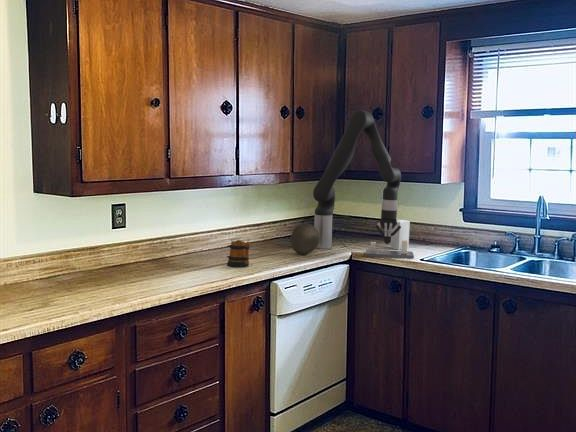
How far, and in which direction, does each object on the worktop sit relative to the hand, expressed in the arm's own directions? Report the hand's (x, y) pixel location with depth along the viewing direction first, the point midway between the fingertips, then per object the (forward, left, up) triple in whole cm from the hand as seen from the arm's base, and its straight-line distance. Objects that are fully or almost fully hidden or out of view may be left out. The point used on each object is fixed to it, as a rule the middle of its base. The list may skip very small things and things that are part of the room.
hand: (386, 243), depth 314 cm
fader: (+8, 0, -4) cm, 9 cm away
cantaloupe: (-40, -8, -6) cm, 41 cm away
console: (+1, +1, -6) cm, 6 cm away
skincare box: (+7, +23, -6) cm, 25 cm away
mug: (-65, -43, -6) cm, 78 cm away
